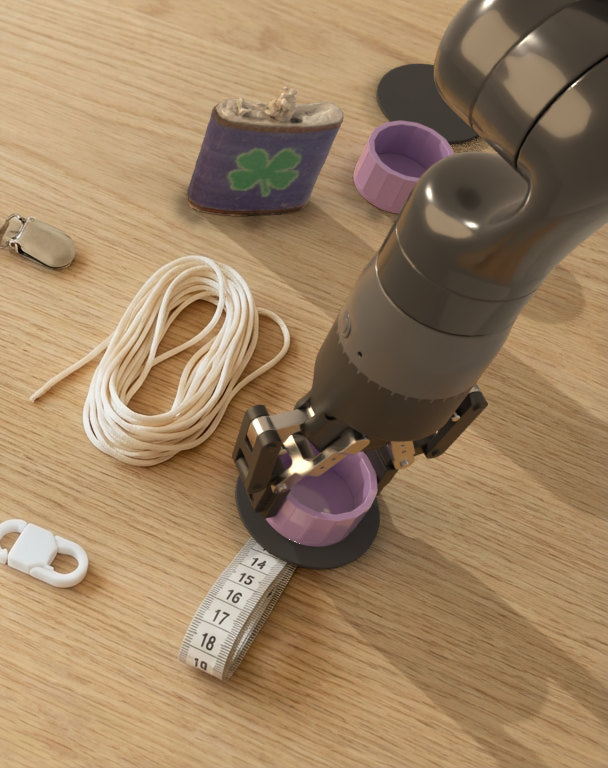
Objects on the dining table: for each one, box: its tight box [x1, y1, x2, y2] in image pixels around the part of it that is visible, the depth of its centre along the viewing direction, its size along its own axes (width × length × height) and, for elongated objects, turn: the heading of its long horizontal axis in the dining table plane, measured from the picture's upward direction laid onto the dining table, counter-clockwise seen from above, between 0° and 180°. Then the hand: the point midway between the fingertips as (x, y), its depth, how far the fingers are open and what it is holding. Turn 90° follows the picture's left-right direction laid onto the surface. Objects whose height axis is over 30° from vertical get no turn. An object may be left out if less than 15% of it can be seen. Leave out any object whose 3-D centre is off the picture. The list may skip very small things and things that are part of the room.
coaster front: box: [234, 473, 381, 570], centre depth 77 cm, size 9×9×1 cm
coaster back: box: [375, 63, 480, 145], centre depth 98 cm, size 9×9×1 cm
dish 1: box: [266, 439, 378, 547], centre depth 75 cm, size 6×6×4 cm
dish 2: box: [352, 121, 455, 215], centre depth 91 cm, size 6×6×4 cm
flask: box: [185, 86, 345, 217], centre depth 87 cm, size 9×3×11 cm, turn 91°
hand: (313, 494), depth 76 cm, fingers closed on dish 1, 6 cm apart
